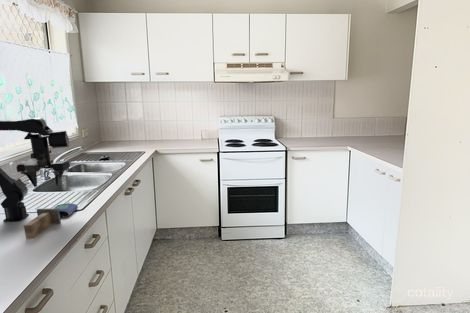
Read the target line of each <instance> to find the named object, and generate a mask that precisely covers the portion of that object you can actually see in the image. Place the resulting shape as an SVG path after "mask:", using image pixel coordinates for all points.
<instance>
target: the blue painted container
mask: <svg viewBox="0 0 470 313" xmlns="http://www.w3.org/2000/svg"><path fill="white" fill-rule="evenodd" d="M78 207H79V206H78V205H77V204H75V203H60V204H57V205H56V206H54V207H53V208H59V214H60V218H68V217H70V215H71V214H72V213H74V212H75V211H76V210H77V209H78Z"/></svg>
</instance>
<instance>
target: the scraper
mask: <svg viewBox="0 0 470 313" xmlns="http://www.w3.org/2000/svg"><path fill="white" fill-rule="evenodd" d="M36 214H37V216H36V217H34V218H33V219H31V220H30V221H28V222H27V223H25V224H24V225H23V229H24V235H25V239H29V240H30V239H34V238H36V237H37V236H39V235H40V234H41V233H42V232H43V231H45V230H47V229H48V228H49V227H50V226H52V225H58V224H59V225H60V224H61V223H62V222H61V220H62V219H61V217H60V214H59V208H54V207H53V208H36Z"/></svg>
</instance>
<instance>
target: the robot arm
mask: <svg viewBox="0 0 470 313" xmlns="http://www.w3.org/2000/svg"><path fill="white" fill-rule="evenodd" d="M0 131H18V132H23V133H27V134H26V135H25V136H24V137H23V140H30V145H31V149H32V150H31V151H32V152H31V153H30V158H29V159H27V161H24V162H22V163H19V164H17V165H16V168H15V169H16V172H18V173H20V174H23V175H24V176H26V177H27V178H28V179H29V181H30V182H31V184H32V185H33V187H34V188H37V186H38V176H37V173H38V172H39V171H40V170H42V169H52V170H53V171H52V173H53V175H54V179H55V185H56V187H60V185H61V184H60V183H61V181H62V179H63V178H62V177H63V175H64V173H65V171H66V170H68V169H69V168H70V167H71V165H70V164H71V163H70V162H69V161H68V160H59V161H56V162H55V163H53V161H54V160H53V159H51V155H50V154H52V150H51V149H50V147H51V148H52V149H62V148H70V139H69V136H68V132H67V131H66V130H60V131H54V130H52V129H51V128H50V127H49V126H48V124H47V122H46V120H45V119H44V118H42V117H40V116H39V117H31V118H26V119H25V118H23V119H17V120H16V119H15V120H12V119H10V120H9V119H5V120H2V119H0ZM27 186H28V184H26V183H24V182H23V180H22V179H21V178H17V179H14V178H12V177H11V176H9V174H7V172H6V171H4V170H3V168H1V167H0V189H1V192H2V194H3V195H4V197H5V198H4V199H3V200H2V202H0V205H1V207H2V208H3V212H4V216H5V219H3V220H2V221H3V222H20V221H22V220H23V219H24V218H26V217H28V216H29V215H30V214H29V213H28V212H27V208H26V205H25V202H23V200H24V199H25V197H26V196H27V195H28V193H29V190H28V187H27Z"/></svg>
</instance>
